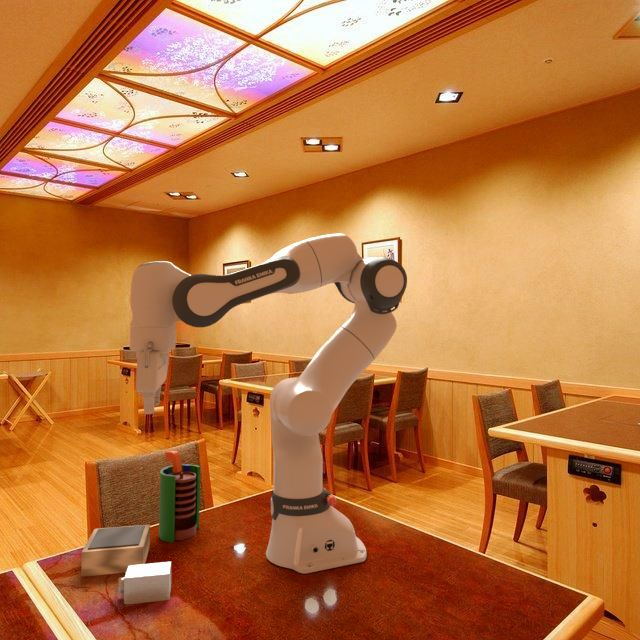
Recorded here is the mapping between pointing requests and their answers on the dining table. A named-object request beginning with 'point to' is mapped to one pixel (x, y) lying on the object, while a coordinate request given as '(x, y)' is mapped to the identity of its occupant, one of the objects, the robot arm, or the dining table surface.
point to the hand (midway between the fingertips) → (152, 409)
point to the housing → (146, 583)
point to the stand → (115, 550)
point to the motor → (178, 499)
